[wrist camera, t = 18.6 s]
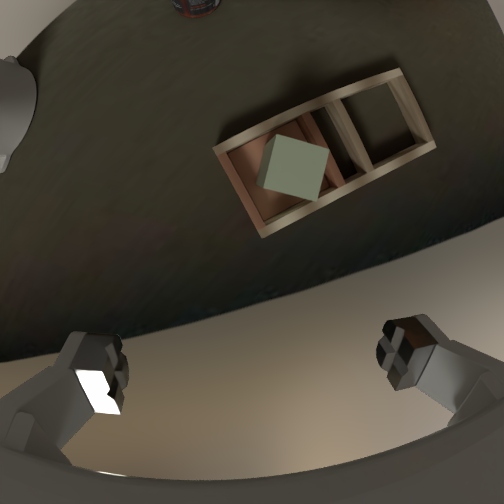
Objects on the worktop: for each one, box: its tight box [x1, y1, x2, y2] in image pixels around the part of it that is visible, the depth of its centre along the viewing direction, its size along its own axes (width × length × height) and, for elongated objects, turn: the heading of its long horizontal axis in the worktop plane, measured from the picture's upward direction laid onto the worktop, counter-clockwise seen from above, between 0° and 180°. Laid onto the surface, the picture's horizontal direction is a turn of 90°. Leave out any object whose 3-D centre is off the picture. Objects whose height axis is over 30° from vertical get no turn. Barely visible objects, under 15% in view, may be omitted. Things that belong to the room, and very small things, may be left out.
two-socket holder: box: [213, 68, 436, 238], centre depth 32 cm, size 25×11×3 cm, turn 118°
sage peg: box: [255, 134, 330, 202], centre depth 29 cm, size 5×5×10 cm
